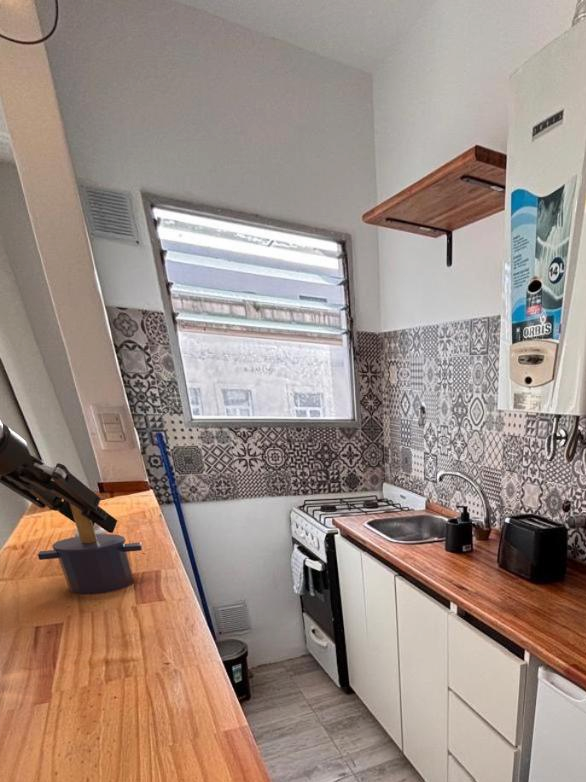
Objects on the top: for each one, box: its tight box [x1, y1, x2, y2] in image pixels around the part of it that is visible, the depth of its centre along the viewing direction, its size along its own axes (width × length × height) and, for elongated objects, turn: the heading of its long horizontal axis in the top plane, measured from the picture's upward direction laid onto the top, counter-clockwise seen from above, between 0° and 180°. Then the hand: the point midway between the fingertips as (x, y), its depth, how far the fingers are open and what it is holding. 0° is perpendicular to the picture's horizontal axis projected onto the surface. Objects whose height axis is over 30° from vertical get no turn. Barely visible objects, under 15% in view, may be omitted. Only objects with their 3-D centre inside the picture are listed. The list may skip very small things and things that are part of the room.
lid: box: [51, 503, 126, 553], centre depth 94 cm, size 11×11×9 cm
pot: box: [37, 541, 143, 595], centre depth 97 cm, size 10×16×8 cm, turn 119°
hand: (102, 525), depth 97 cm, fingers open, 4 cm apart
